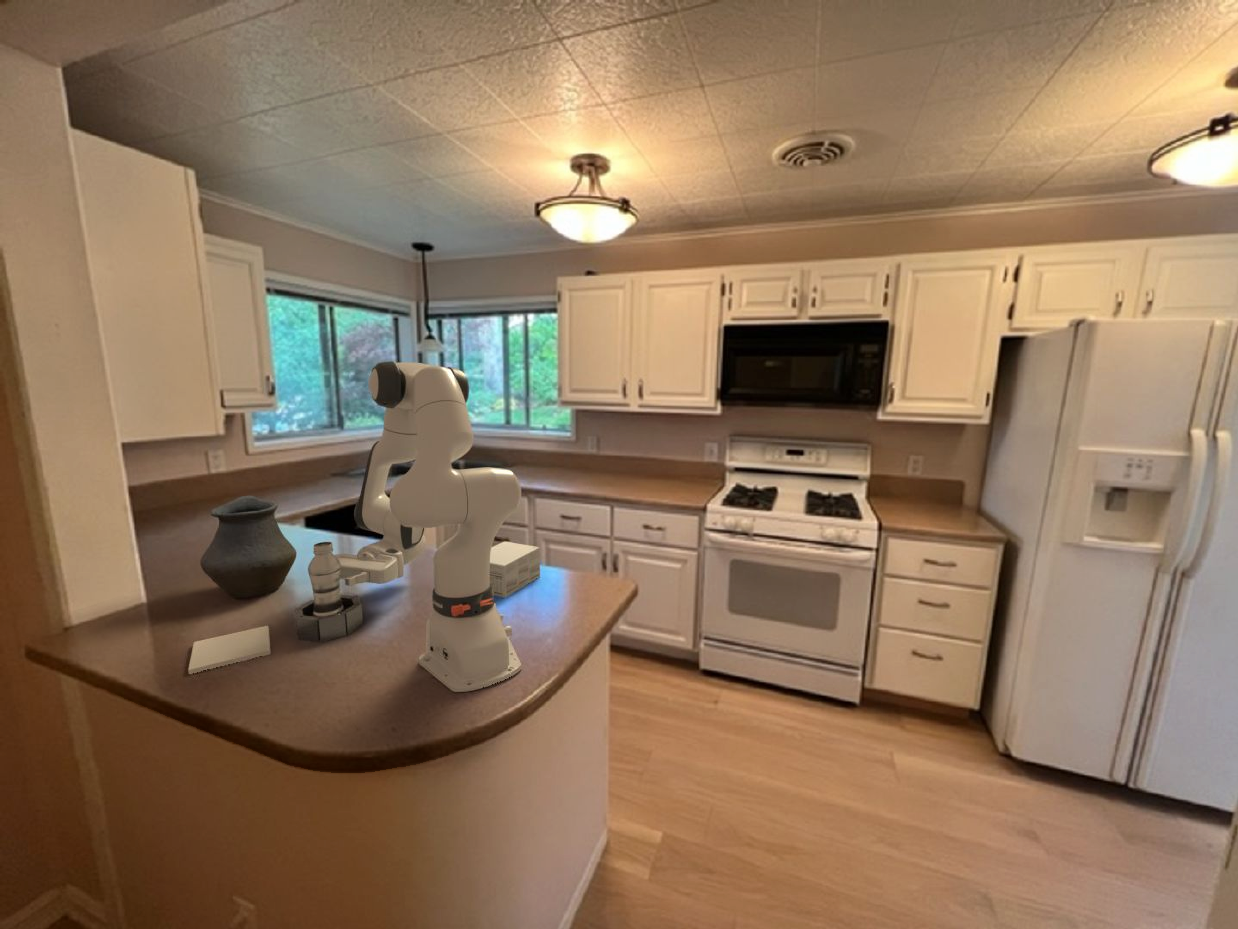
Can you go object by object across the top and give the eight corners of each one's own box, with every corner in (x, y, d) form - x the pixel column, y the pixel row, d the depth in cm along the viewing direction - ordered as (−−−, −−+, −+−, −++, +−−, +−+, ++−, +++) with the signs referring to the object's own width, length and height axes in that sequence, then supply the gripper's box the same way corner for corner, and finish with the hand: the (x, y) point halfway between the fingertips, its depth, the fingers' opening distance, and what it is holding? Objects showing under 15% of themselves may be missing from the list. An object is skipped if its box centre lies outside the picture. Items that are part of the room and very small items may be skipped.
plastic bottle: (352, 622, 118) (346, 541, 115) (329, 636, 112) (322, 550, 109) (330, 618, 120) (323, 538, 117) (306, 631, 114) (298, 547, 110)
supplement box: (504, 570, 154) (504, 540, 152) (540, 577, 148) (540, 546, 147) (466, 589, 138) (465, 557, 137) (504, 598, 133) (504, 565, 132)
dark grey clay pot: (202, 615, 121) (189, 515, 117) (207, 586, 138) (197, 498, 134) (302, 595, 133) (293, 504, 129) (296, 570, 150) (288, 489, 146)
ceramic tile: (270, 654, 104) (270, 649, 104) (188, 674, 96) (188, 670, 96) (268, 629, 114) (268, 625, 114) (194, 646, 107) (194, 642, 107)
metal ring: (366, 630, 115) (364, 609, 114) (299, 647, 107) (296, 625, 106) (356, 609, 125) (354, 590, 124) (294, 623, 117) (292, 603, 117)
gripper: (341, 545, 131) (294, 562, 118) (407, 552, 125) (365, 572, 112) (343, 568, 132) (296, 587, 119) (408, 576, 126) (367, 598, 113)
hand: (330, 580), depth 115 cm, fingers open, 8 cm apart
